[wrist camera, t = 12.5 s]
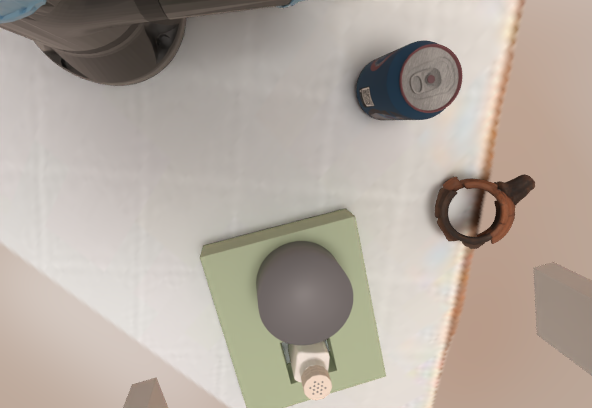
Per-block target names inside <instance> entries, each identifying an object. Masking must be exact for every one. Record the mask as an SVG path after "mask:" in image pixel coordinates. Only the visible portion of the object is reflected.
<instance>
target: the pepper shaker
mask: <svg viewBox="0 0 592 408" xmlns="http://www.w3.org/2000/svg"><path fill="white" fill-rule="evenodd" d="M288 352H289V357H290V362H291V366H292V371H293V376H294V379H295V380H296V381H298V382H302V386H303V390H304V394H305V395H306V396H307V397H308V398H309V399H312V400H320V399H324V398H325V397H326V396H327V395H329V393H330V391H331V389H332V383H331V379H330V376H329V373H328V368H329V359H330V356H329V353H328V350H327V347H326V345H325V342H324V341H322V342H319V343H316V344H312V345H292V344H289V347H288Z"/></svg>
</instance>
